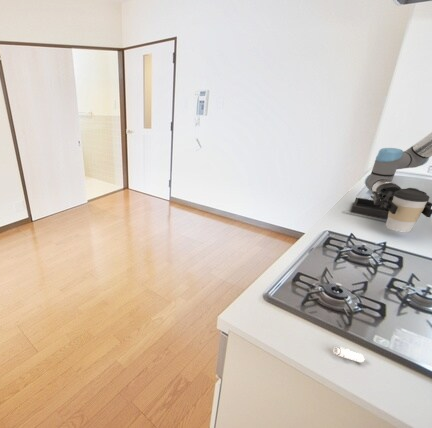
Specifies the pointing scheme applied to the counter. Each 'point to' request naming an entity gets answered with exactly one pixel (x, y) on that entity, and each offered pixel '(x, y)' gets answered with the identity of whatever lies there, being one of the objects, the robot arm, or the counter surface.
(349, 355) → the small white plastic part
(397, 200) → the coffee cup
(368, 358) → the counter surface
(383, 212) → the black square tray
